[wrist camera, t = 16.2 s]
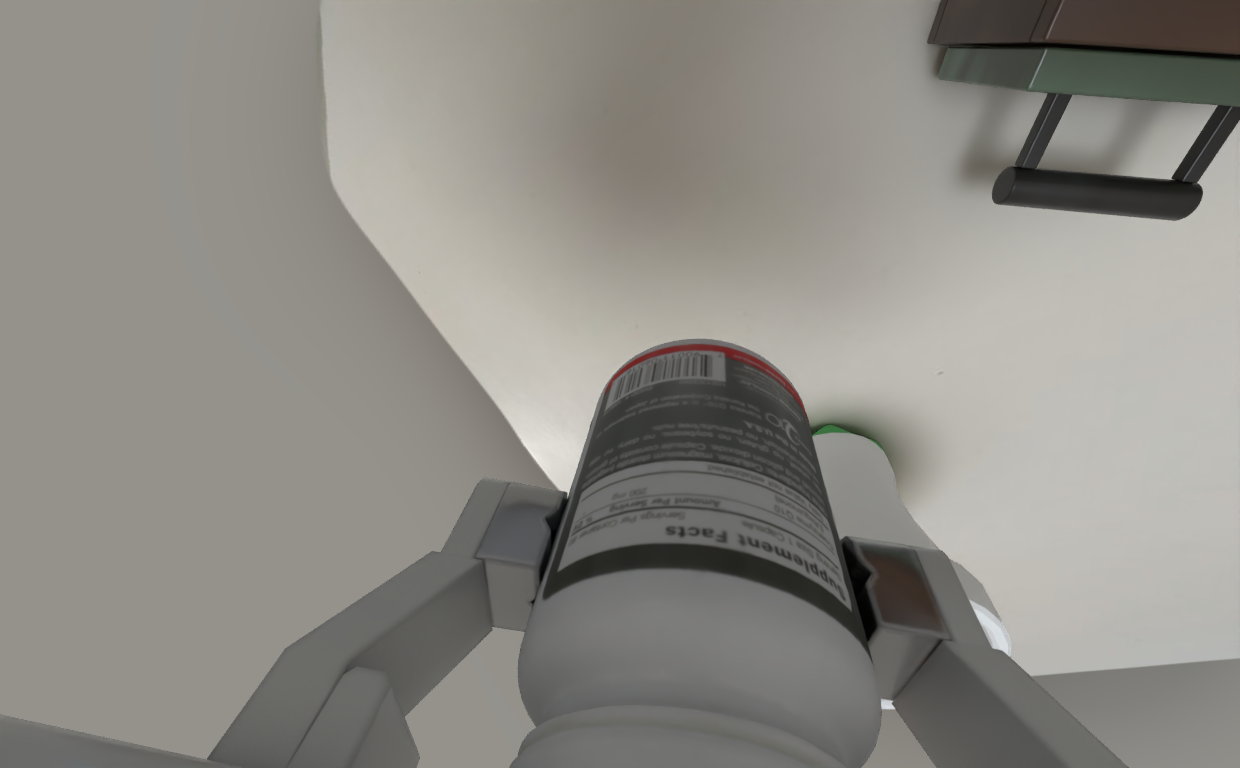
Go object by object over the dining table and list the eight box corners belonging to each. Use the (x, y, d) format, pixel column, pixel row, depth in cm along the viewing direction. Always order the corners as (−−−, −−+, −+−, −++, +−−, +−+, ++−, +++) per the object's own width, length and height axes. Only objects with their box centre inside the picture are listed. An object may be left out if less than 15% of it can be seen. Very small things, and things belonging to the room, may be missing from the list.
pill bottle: (740, 518, 13) (775, 1036, 6) (572, 454, 13) (411, 931, 6) (850, 384, 10) (1124, 1030, 4) (642, 296, 10) (498, 835, 3)
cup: (940, 478, 36) (1050, 686, 24) (799, 533, 41) (835, 725, 29) (863, 372, 32) (951, 557, 20) (719, 446, 37) (723, 628, 26)
